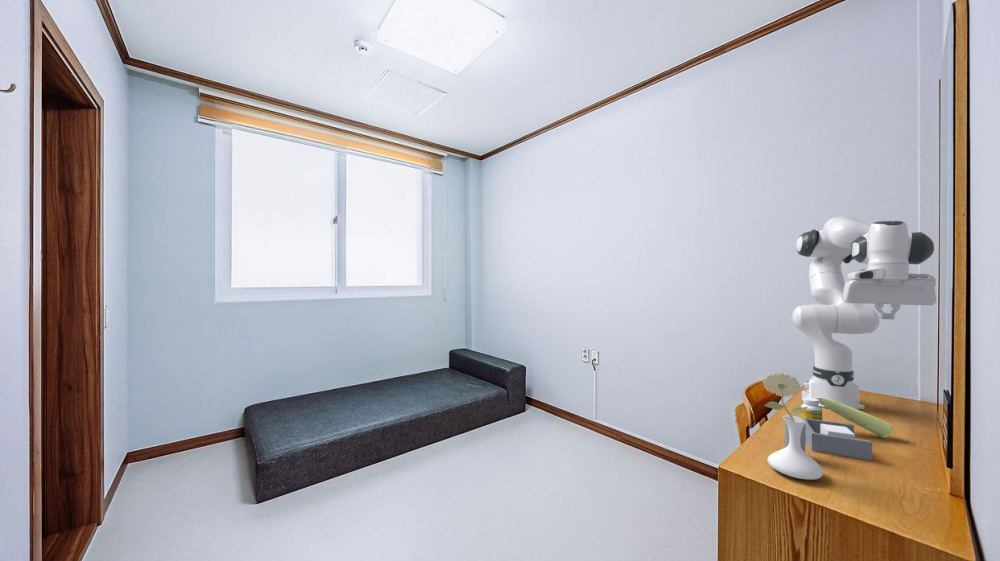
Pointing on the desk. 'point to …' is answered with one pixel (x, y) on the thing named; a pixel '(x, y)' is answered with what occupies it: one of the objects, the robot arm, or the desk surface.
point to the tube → (858, 417)
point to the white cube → (836, 431)
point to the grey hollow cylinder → (802, 438)
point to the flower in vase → (791, 432)
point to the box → (836, 441)
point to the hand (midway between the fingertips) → (886, 319)
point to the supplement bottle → (812, 409)
